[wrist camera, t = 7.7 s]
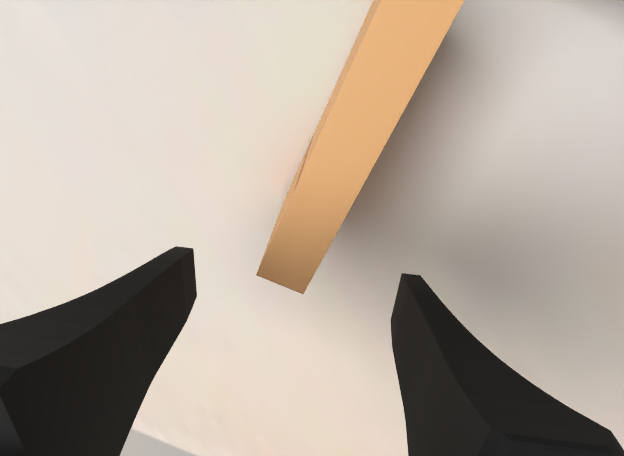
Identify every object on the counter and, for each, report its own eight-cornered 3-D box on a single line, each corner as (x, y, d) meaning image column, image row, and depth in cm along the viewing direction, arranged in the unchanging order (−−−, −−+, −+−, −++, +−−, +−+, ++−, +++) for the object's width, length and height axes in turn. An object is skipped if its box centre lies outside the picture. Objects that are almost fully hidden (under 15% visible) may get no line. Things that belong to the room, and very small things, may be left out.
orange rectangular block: (316, 219, 21) (303, 294, 15) (282, 205, 21) (255, 275, 15) (423, 7, 16) (468, -5, 10) (379, -15, 15) (399, -42, 10)
